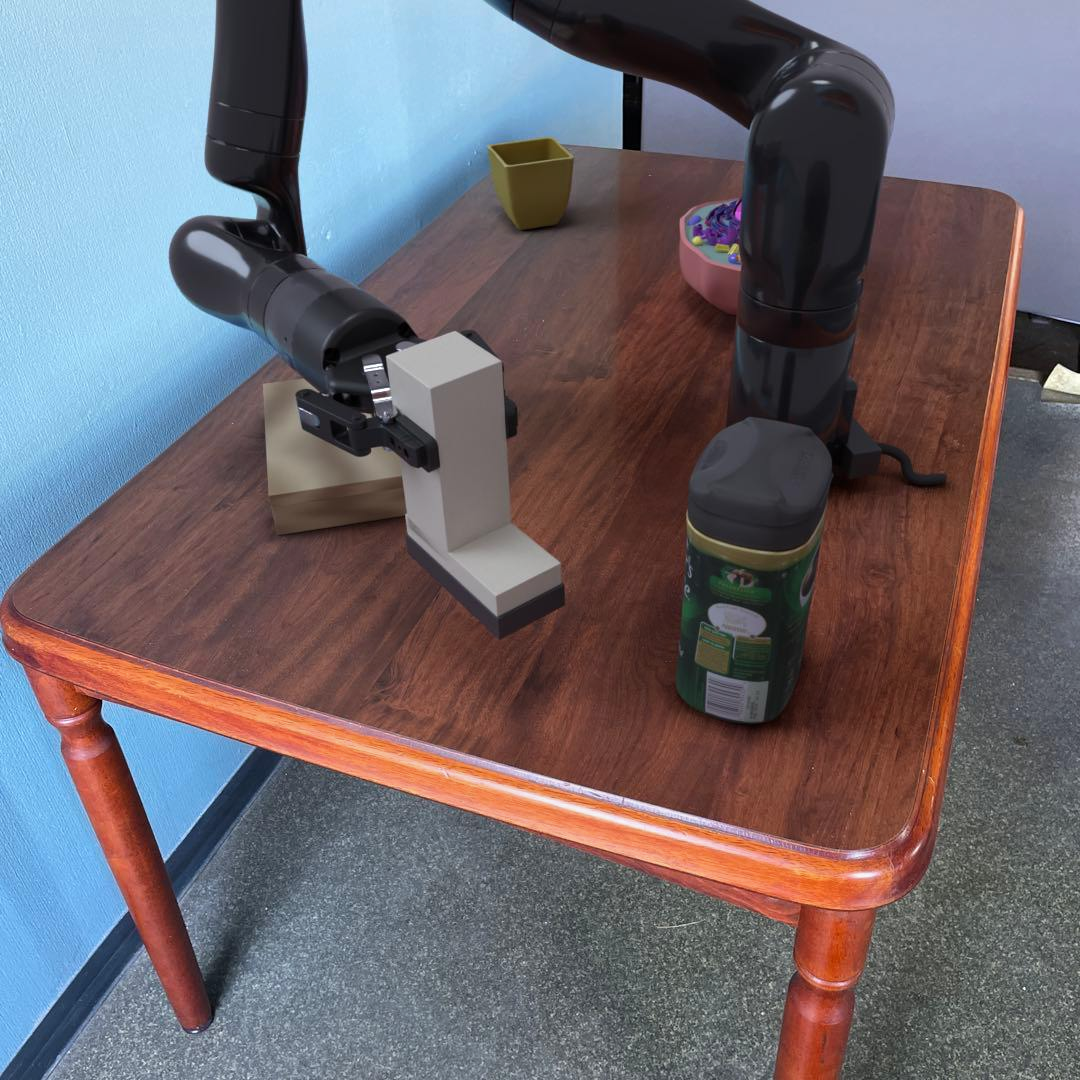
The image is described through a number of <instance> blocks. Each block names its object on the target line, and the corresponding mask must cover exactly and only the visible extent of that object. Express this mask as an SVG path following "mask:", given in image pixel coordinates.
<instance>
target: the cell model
mask: <svg viewBox="0 0 1080 1080" xmlns="http://www.w3.org/2000/svg"><path fill="white" fill-rule="evenodd" d="M741 205H742V195H741V196H740V197H735V198H729V199H723V200H713V201H707V202H702V203H700V204H697V205H695V206H693V207H691V208H690V209H689V210H688V211H687V212H686V213H684V214H683V216H682V217H680V218H679V241H678V243H679V244H678V259H679V269H680V272H681V276H682V278H683V280H684V281H685V282H686V283H687V284H688V285H689V286H690V287H691V288H692V289H693V290H694V291H695V292H696V293H698V294H699V296H701V297H702V298H703V299H704V300H706V302H708V303H709V304H711V305H712V306H713V307H715V308H716V309H718V310H719V311H721V312H724V313H725V314H727V315H731V316H735V317H736V316H737V305H738V295H739V285H740V272H741V258H740V254H739V233H740V220H741Z"/></svg>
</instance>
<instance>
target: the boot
mask: <svg viewBox="0 0 1080 1080" xmlns="http://www.w3.org/2000/svg"><path fill="white" fill-rule="evenodd" d="M427 340H428V341H426V342H423V343H420V344H417V345H415V346H412V347H409V348H406V349H404V350H401V351H398V352H395V353H393V354H390V355H387V356H386V361H387V368H388V375H389V383H390V390H391V398H392V404H393V405H395V406H396V409H397V412H398V417H400V416H402V415H406V416H407V417H408V418H409V419H411V420H412V421H413V422H415V423H416V424H417V425H418V426H420V427H421V428H422V429H423V430H425V431H426V432H427V433H428V434H430V435H431V436H432V437H433V438H434V439H435V440H436V441H437V444H438V449H439V458H440V468H439V469H437V470H434V471H432V472H430V473H428V472H426V471H425V470H424V469H423V468H422V467H421V468H415V467H412V466H410V465H409V464H408V463H407V462H406V461H404V460H403V459H402V458H401V457H400V464H401V472H402V479H403V487H404V494H405V501H406V509H407V513H406V514H405V517H404V518H405V524H406V532H405V533H404V536H405V544H406V551H407V554H408V555H409V556H410V558H412V560H414V561H415V562H416V563H417V564H418V565H419V566H420V567H421V568H422V569H423V570H425V571H426V572H427V574H429V575H430V576H431V578H433V579H434V580H435V581H436V582H437V583H438V584H439V585H440V586H441V587H442V588H444V589H445V591H447V592H448V593H449V594H450V596H452V597H453V598H454V599H455V600H457V602H458V603H460V605H461V606H463V607H464V608H465V609H466V610H467V611H468V612H469V613H470V614H471V615H472V616H473V617H474V618H475V619H476V620H477V621H479V622H480V623H481V624H482V626H484V628H486V629H487V630H488V631H489V632H490V633H491V634H492V635H493V636H494V637H496V639H497V640H499V641H501V640H502V639H505V638H506V637H508V636H510V635H513V634H514V633H516V632H518V631H520V630H521V629H524V628H525V627H527V626H529V625H531V624H533V623H535V622H536V621H538V620H540V619H542V618H544V617H545V616H548V615H550V614H551V613H553V612H556V611H557V610H559V609H561V608H563V607H565V606H566V592H565V590H566V589H565V587H566V585H565V583H564V582H562V562H561V561H559V560H558V559H557V558H555V557H554V556H553V555H552V554H550V553H549V552H548V551H547V550H545V548H543V547H542V546H541V545H540V544H539V543H537V542H536V541H535V540H534V539H532V538H531V537H530V536H528V535H527V534H526V533H525V532H524V531H522V530H521V529H520V528H519V527H517V526H516V525H515V524H514V523H512V510H511V509H512V508H511V493H510V491H511V490H510V478H509V476H510V475H509V460H508V459H509V458H508V443H507V440H506V424H505V408H504V391H503V374H504V373H503V374H502V362H503V361H502V360H501V359H500V358H499V357H498V358H499V359H500V360H499V359H498V358H496V357H495V356H493V355H492V354H490V353H489V352H487V351H486V350H484V349H483V348H481V347H480V346H478V345H477V344H475V343H473V342H472V341H470V340H469V339H467V338H466V337H464V336H463V335H461V334H460V332H458V331H457V330H454V331H453V330H452V331H451V332H448V333H445V334H442V335H440V336H437V337H434V338H431V339H427Z"/></svg>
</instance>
